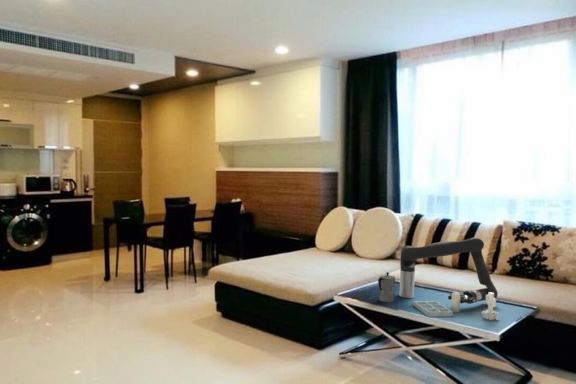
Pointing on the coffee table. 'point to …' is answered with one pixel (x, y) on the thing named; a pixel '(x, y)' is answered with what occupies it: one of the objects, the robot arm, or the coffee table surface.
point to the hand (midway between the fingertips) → (454, 299)
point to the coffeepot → (386, 288)
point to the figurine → (490, 307)
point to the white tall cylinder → (455, 302)
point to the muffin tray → (432, 308)
